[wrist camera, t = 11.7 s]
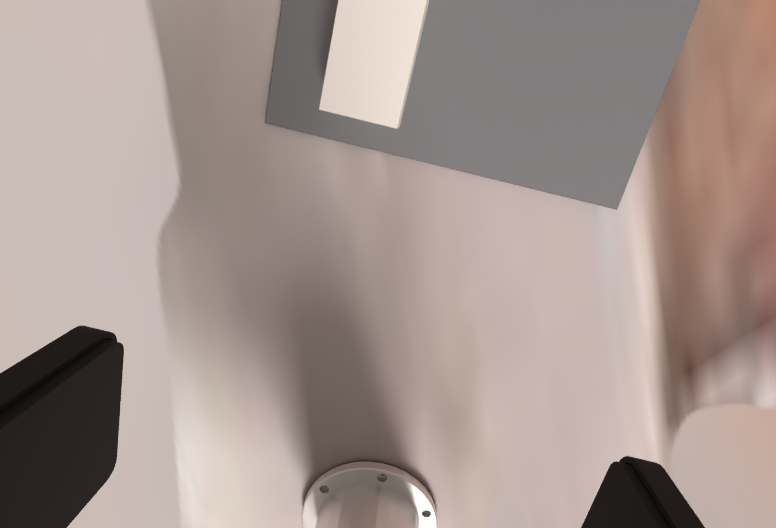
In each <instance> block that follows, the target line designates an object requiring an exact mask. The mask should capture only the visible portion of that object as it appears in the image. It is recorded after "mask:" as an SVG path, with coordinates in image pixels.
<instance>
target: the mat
mask: <svg viewBox="0 0 776 528" xmlns="http://www.w3.org/2000/svg"><path fill="white" fill-rule="evenodd" d="M699 2H700V0H429V4H428V8H427V12H426V16H425V21H424V25H423V29H422V34H421V38H420V42H419V46H418V51H417V55H416V59H415V64H414V68H413V72H412V77H411V81H410V85H409V89H408V94H407V98H406V102H405V107H404V111H403V115H402V119H401V124H400V127H399V128H398V129H396V128H392V127H388V126H384V125H380V124H376V123H372V122H368V121H363V120H359V119H355V118H351V117H347V116H343V115H339V114H335V113H331V112H327V111H323V110H319V107H320V101H321V95H322V90H323V84H324V79H325V73H326V67H327V62H328V56H329V50H330V45H331V39H332V34H333V28H334V22H335V17H336V11H337V5H338V0H283V1H282V8H281V14H280V21H279V28H278V35H277V42H276V49H275V56H274V63H273V70H272V77H271V84H270V91H269V98H268V105H267V112H266V119H265V123H267V124H271V125H275V126H279V127H283V128H287V129H291V130H295V131H299V132H303V133H307V134H311V135H316V136H320V137H324V138H328V139H332V140H336V141H340V142H344V143H348V144H352V145H356V146H360V147H364V148H368V149H372V150H376V151H381V152H385V153H389V154H393V155H397V156H401V157H405V158H409V159H413V160H417V161H421V162H425V163H429V164H433V165H437V166H442V167H446V168H450V169H454V170H458V171H462V172H466V173H470V174H474V175H478V176H482V177H486V178H490V179H494V180H498V181H503V182H507V183H511V184H515V185H519V186H523V187H527V188H531V189H535V190H539V191H543V192H547V193H551V194H555V195H559V196H564V197H568V198H572V199H576V200H580V201H584V202H588V203H592V204H596V205H600V206H604V207H608V208H612V209H616V210H617V208H618V206H619V203H620V201H621V198H622V196H623V193H624V191H625V188H626V186H627V183H628V181H629V178H630V176H631V173H632V171H633V168H634V166H635V163H636V160H637V158H638V155H639V153H640V150H641V148H642V145H643V143H644V140H645V138H646V135H647V133H648V130H649V128H650V125H651V123H652V120H653V118H654V115H655V113H656V110H657V108H658V105H659V103H660V100H661V98H662V95H663V92H664V90H665V87H666V85H667V82H668V80H669V77H670V75H671V72H672V70H673V67H674V65H675V62H676V60H677V57H678V55H679V52H680V50H681V47H682V45H683V42H684V40H685V37H686V35H687V32H688V29H689V27H690V24H691V22H692V19H693V17H694V14H695V12H696V9H697V7H698V4H699Z"/></svg>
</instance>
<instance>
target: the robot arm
mask: <svg viewBox="0 0 776 528" xmlns="http://www.w3.org/2000/svg"><path fill="white" fill-rule="evenodd" d="M123 355H124V349H123V345H122V344H121V343H119V342H117V338H116V336H115V334H113V333H111V332H108V331H104V330H99V329H95V328H91V327H87V326H78V327H76V328H74V329H72V330H71V331H69V332H67V333H66V334H64V335H63V336H61V337H59V338H58V339H56V340H54V341H53V342H51V343H49V344H48V345H46V346H44V347H43V348H41V349H40V350H38V351H36V352H35V353H33V354H31V355H30V356H28V357H26V358H25V359H23V360H22V361H20V362H18V363H17V364H15V365H13V366H12V367H10V368H8V369H7V370H5V371H4V372H2V373H0V528H67V526H68V525H69V524H70V523H71V522H72V520H74V518H75V517H76V516H77V515H78V514H79V512H80V511H81V510H82V509H83V508H84V506H85V505H86V504H87V503H88V502H89V501H90V500H91V499H92V497H93V496H94V495H95V494H96V493H97V492H98V490H99V489H100V488H101V487H102V486H103V485H104V483H105V482H106V481H107V480H108V478H109V477H110V475H111V473H112V471H113V469H114V467H115V464H116V459H117V447H118V431H119V416H120V401H121V385H122V370H123ZM302 524H303V527H304V528H437V514H436V507H435V504H434V502H433V499H432V497H431V495H430V494H429V493H428V491H427V490H426V488H425V487H424V486H423V485H422V484H421V483H420V482H419V481H418V480H417V479H416V478H414V477H413V476H411V475H410V474H408V473H407V472H405V471H403V470H401V469H399V468H396V467H394V466H391V465H387V464H383V463H377V462H369V461H368V462H353V463H348V464H343V465H341V466H338V467H335V468H333V469H331V470H329V471H328V472H326V473H324V474H323V475H321V476H320V477H319V478H318V479H317V480H316V481H315V482H314V483H313V485H312V487H311V488H310V490H309V491H308V494H307V496H306V499H305V502H304V506H303V511H302ZM581 528H705V527H704V526H703V524H702V523H701V521H700V520H699V518H698V517H697V516H696V514H695V513H694V511H693V510H692V509H691V507H690V506H689V504H688V503H687V501H686V500H685V498H684V497H683V495H682V494H681V493H680V491H679V490H678V488H677V487H676V485H675V484H674V482H673V481H672V480H671V478H670V477H669V475H668V474H667V472H666V471H665V469H664V468H663V467H662V466H661V465H660V464H657V463H654V462H650V461H646V460H642V459H638V458H634V457H629V456H626V457H623V458H622V459H621V460H620V461H619V462H613V463H612V464H611V465H610V467H609V469H608V471H607V473H606V475H605V478H604V480H603V482H602V484H601V486H600V488H599V491H598V493H597V495H596V497H595V499H594V501H593V504H592V506H591V508H590V510H589V512H588V514H587V516H586V519H585V521H584V523H583V525H582V527H581Z"/></svg>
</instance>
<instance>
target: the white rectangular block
mask: <svg viewBox="0 0 776 528" xmlns="http://www.w3.org/2000/svg"><path fill="white" fill-rule="evenodd" d="M428 4H429V0H338V5H337V11H336V17H335V22H334V28H333V34H332V39H331V45H330V50H329V56H328V62H327V67H326V73H325V79H324V84H323V90H322V95H321V101H320V107H319V110H323V111H327V112H331V113H335V114H339V115H343V116H347V117H351V118H355V119H359V120H363V121H368V122H372V123H376V124H380V125H384V126H388V127H392V128H396V129H398V128H399V127H400V124H401V119H402V115H403V111H404V107H405V102H406V98H407V94H408V89H409V85H410V81H411V77H412V72H413V68H414V64H415V59H416V55H417V51H418V46H419V42H420V38H421V34H422V29H423V25H424V21H425V16H426V12H427V8H428Z"/></svg>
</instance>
